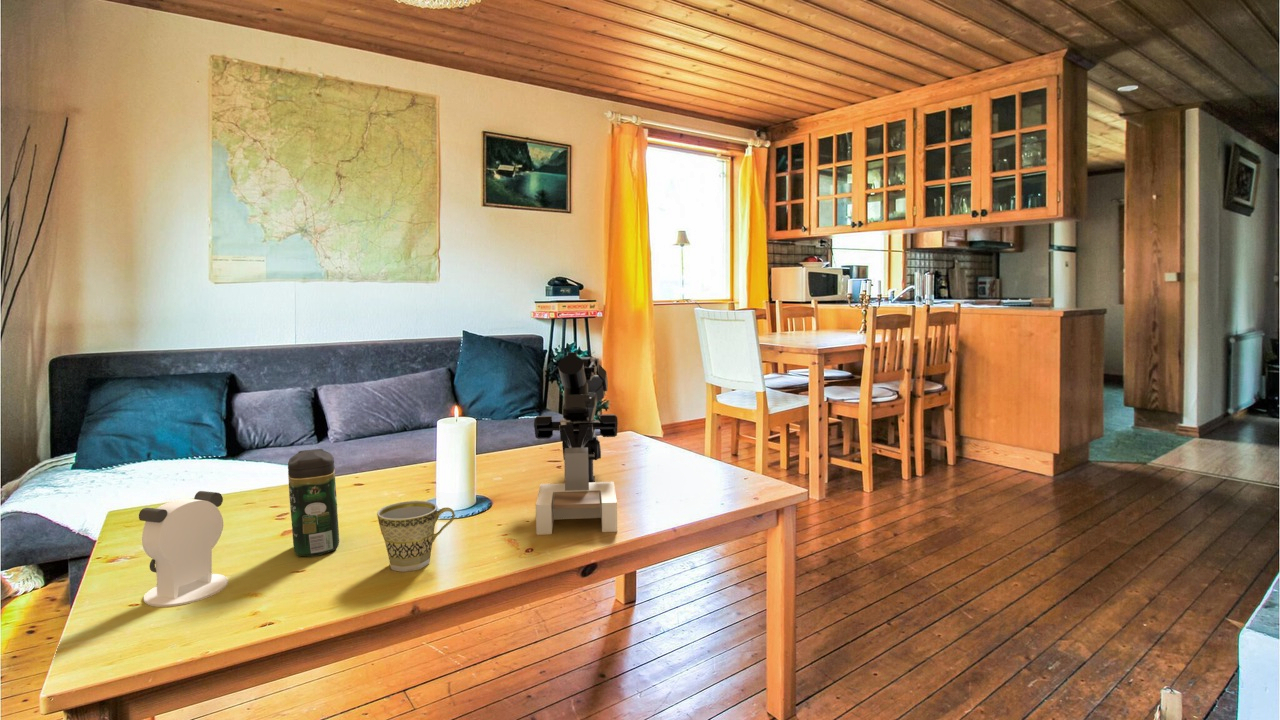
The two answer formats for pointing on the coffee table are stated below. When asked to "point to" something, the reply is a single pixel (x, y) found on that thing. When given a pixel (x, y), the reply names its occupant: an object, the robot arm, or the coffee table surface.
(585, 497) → the trapdoor
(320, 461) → the coffee jar
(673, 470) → the coffee table surface
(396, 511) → the ceramic cup
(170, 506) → the panda figurine
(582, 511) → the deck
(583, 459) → the stone
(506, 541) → the coffee table surface
